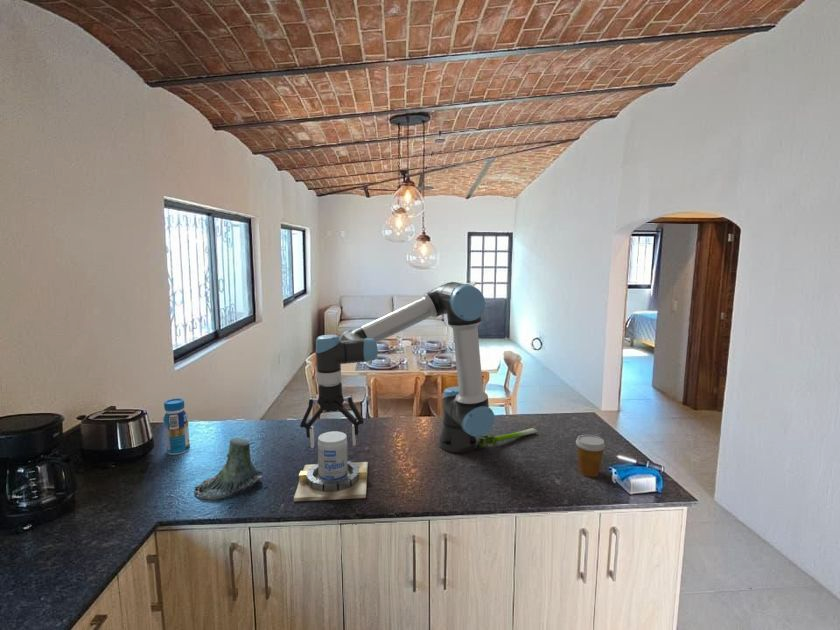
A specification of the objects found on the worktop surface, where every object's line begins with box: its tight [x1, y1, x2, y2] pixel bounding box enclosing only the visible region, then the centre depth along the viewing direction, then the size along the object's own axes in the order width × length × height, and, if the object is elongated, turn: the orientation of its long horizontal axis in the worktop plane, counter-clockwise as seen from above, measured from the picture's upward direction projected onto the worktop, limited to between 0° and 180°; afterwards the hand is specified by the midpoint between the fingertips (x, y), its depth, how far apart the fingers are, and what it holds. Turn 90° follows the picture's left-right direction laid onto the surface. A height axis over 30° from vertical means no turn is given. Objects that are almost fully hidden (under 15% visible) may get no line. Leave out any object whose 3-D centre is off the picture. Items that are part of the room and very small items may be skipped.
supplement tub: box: [317, 430, 349, 481], centre depth 156 cm, size 10×10×15 cm
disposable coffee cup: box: [575, 434, 606, 478], centre depth 162 cm, size 10×10×12 cm
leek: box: [477, 427, 538, 449], centre depth 189 cm, size 6×7×30 cm
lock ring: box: [298, 460, 368, 492], centre depth 157 cm, size 22×17×2 cm
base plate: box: [293, 461, 369, 502], centre depth 157 cm, size 22×22×1 cm
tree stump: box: [194, 437, 263, 502], centre depth 155 cm, size 18×20×18 cm
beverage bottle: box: [162, 398, 191, 456], centre depth 181 cm, size 8×8×20 cm
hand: (333, 445), depth 156 cm, fingers open, 13 cm apart
